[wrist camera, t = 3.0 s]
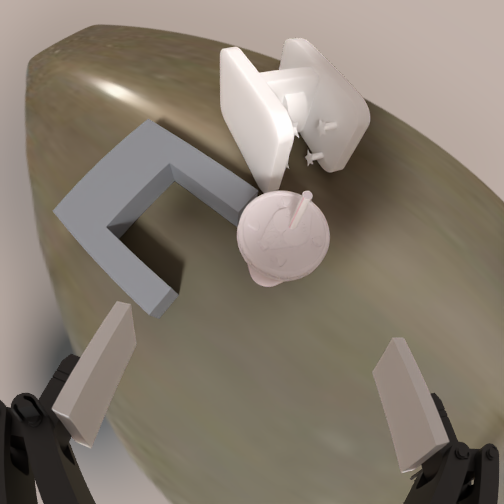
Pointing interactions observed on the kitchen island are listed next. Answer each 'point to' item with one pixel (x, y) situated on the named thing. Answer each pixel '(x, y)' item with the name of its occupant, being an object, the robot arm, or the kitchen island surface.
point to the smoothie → (282, 237)
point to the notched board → (144, 203)
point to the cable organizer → (290, 111)
